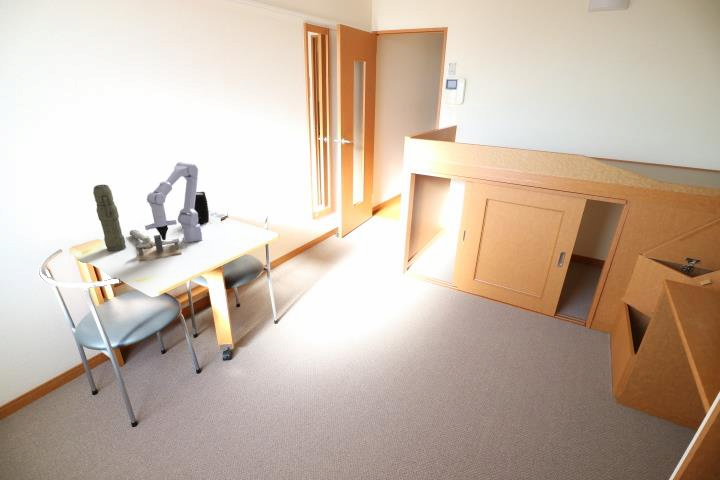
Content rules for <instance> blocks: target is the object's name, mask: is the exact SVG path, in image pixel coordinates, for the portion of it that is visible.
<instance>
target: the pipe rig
mask: <svg viewBox="0 0 720 480" xmlns="http://www.w3.org/2000/svg"><path fill="white" fill-rule="evenodd" d="M161 241H162V246H163V245H164V246H163V251H164V252H159V253H157V250H156V245H155V241H154V242H153V243H148V244H135V248H136V250H137V259H138V262H144V261H148V260H149V261H150V260H156V259H161V257H162V258H167V256H168V257H172V255H173V256H178V255H177V254H179V255H182V254H183V253H182V248H181V245H180V240H179V238H176V239H175V238H174V239H168V240H167V239H166V240H161ZM147 247H151V248H147Z"/></svg>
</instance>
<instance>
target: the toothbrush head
mask: <svg viewBox="0 0 720 480" xmlns="http://www.w3.org/2000/svg"><path fill="white" fill-rule="evenodd" d="M129 235H130V236H131V237H132V238H134V239H137V240H139V241H140V242H141V241H142V242H141V244H148V243H154V242H153V240H151V237H150V236H145V235H144V234H143V233H141V232H140V231H139V230H138V229H137V230H136V229H132V230H131V229H130V231H129ZM141 244H140V245H141ZM151 248H152V247H147V248H146V249H151Z"/></svg>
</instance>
